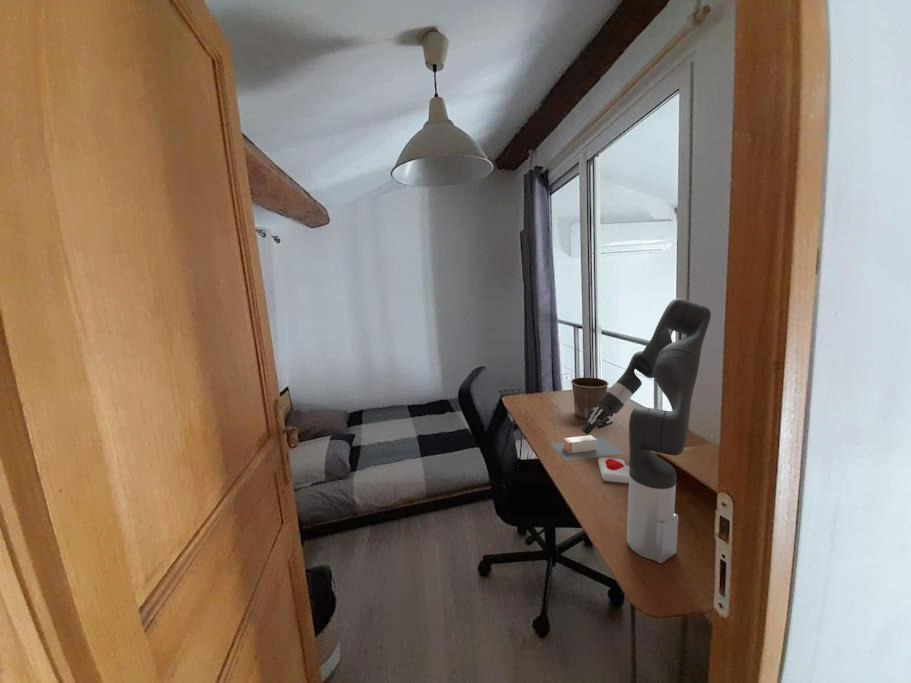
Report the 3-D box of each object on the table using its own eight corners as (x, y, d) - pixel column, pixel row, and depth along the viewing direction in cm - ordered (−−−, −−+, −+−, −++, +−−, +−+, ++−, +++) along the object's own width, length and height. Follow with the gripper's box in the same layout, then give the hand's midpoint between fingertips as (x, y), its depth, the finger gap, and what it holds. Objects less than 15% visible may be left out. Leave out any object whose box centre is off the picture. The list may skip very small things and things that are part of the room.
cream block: (591, 435, 130) (563, 438, 129) (596, 439, 126) (568, 442, 125) (590, 445, 131) (563, 448, 129) (596, 449, 127) (568, 453, 125)
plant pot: (609, 423, 152) (610, 387, 150) (570, 420, 157) (570, 385, 155) (606, 410, 167) (606, 378, 165) (570, 407, 173) (571, 376, 170)
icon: (637, 473, 104) (602, 469, 107) (637, 486, 105) (601, 482, 108) (629, 454, 116) (597, 451, 119) (629, 466, 117) (597, 463, 120)
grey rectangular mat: (601, 438, 137) (601, 437, 137) (624, 455, 123) (624, 453, 123) (549, 445, 134) (549, 443, 134) (566, 462, 120) (566, 460, 120)
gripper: (599, 386, 133) (569, 420, 133) (620, 396, 120) (587, 433, 120) (611, 398, 135) (581, 431, 135) (634, 410, 122) (600, 446, 122)
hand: (584, 432), depth 127 cm, fingers closed
